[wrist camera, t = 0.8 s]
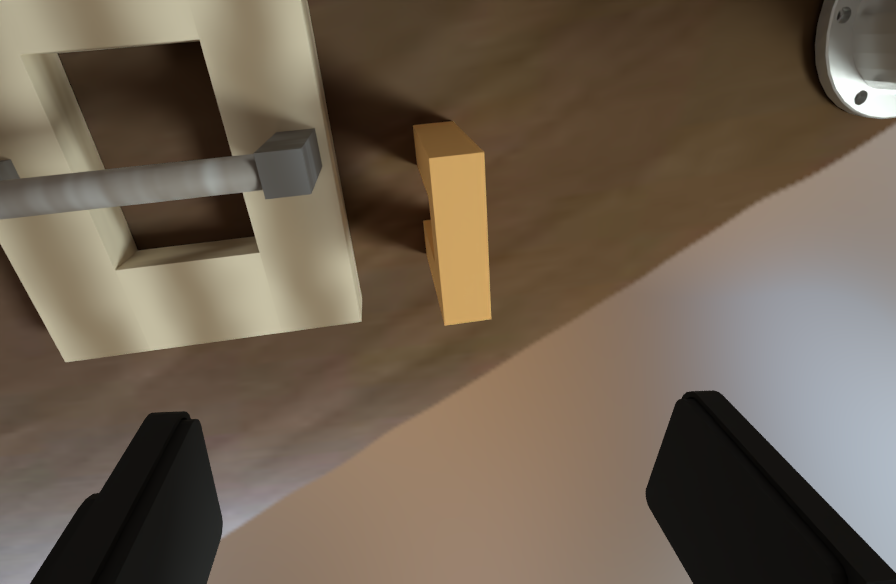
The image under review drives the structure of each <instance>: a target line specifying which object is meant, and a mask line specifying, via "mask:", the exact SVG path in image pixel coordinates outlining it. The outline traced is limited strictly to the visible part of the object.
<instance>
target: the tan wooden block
mask: <svg viewBox="0 0 896 584" xmlns="http://www.w3.org/2000/svg"><path fill="white" fill-rule="evenodd" d="M413 132H414V142H415V151H416V160H417V167H418V169H419V172H420V175H421V178H422V180H423V183H424V186H425V189H426V191H427V194H428V197H429V207H430V217H431V220H424V221H423V226H424V235H425V244H426V254H427V258H428V262H429V266H430V270H431V273H432V277H433V281H434V285H435V289H436V293H437V297H438V301H439V305H440V309H441V313H442V317H443V320H444V324H445V325H452V324H460V323H467V322H474V321H481V320H488V319H491V303H490V279H489V255H488V231H487V208H486V184H485V160H484V152H483V151H482V150H481V149H480V148H479V147H478V146H477V145H476V144H475V143H474V142H473V141H472V140H471V139H470V138H469V137H468V136H467V135H466V134H465V133H464V132H463V131H462V130H461V129H460V128H459V127H458V126H457V125H456V124H455V123H454V122H453V121H448V122H438V123H429V124H419V125H413Z"/></svg>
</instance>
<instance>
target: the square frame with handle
mask: <svg viewBox="0 0 896 584" xmlns="http://www.w3.org/2000/svg"><path fill="white" fill-rule="evenodd" d="M196 41H200V43H201V47H202V51H203V54H204V58H205V61H206V65H207V68H208V72H209V75H210V79H211V82H212V86H213V89H214V93H215V97H216V100H217V104H218V107H219V111H220V114H221V118H222V121H223V125H224V128H225V132H226V135H227V139H228V143H229V146H230V150H231V153H232V156H229V157H219V158H210V159H200V160H191V161H181V162H172V163H162V164H153V165H143V166H134V167H124V168H115V169H104V166H103V164H102V161H101V159H100V156H99V154H98V152H97V149H96V147H95V144H94V142H93V139H92V137H91V134H90V132H89V130H88V127H87V125H86V122H85V120H84V117H83V115H82V112H81V110H80V108H79V105H78V103H77V100H76V98H75V95H74V93H73V90H72V88H71V86H70V83H69V81H68V78H67V76H66V73H65V71H64V69H63V66H62V64H61V61H60V59H59V56H58V54H57V53H67V52H79V51H91V50H103V49H114V48H126V47H138V46H149V45H161V44H173V43H185V42H196ZM242 192H243V196H244V199H245V203H246V206H247V210H248V213H249V217H250V220H251V224H252V227H253V231H254V235H255V236H254V237H245V238H237V239H229V240H220V241H212V242H204V243H195V244H187V245H179V246H170V247H162V248H154V249H145V250H138V249H137V247H136V244H135V242H134V239H133V237H132V235H131V232H130V230H129V227H128V225H127V222H126V220H125V217H124V215H123V213H122V210H121V208H120V206H126V205H135V204H144V203H153V202H162V201H171V200H180V199H189V198H197V197H206V196H215V195H224V194H233V193H242ZM0 244H1V246H2V248H3V250H4V251H5V253H6V255H7V257H8V259H9V260H10V262H11V264H12V266H13V268H14V269H15V271H16V273H17V275H18V277H19V279H20V280H21V282H22V284H23V286H24V288H25V289H26V291H27V293H28V295H29V297H30V299H31V300H32V302H33V304H34V306H35V308H36V309H37V311H38V313H39V315H40V317H41V319H42V320H43V322H44V324H45V326H46V328H47V329H48V331H49V333H50V335H51V337H52V339H53V340H54V342H55V344H56V346H57V348H58V349H59V351H60V353H61V355H62V357H63V359H64V360H65V362H71V361H78V360H86V359H93V358H100V357H108V356H115V355H122V354H129V353H137V352H144V351H151V350H159V349H166V348H173V347H180V346H188V345H195V344H202V343H209V342H217V341H224V340H231V339H239V338H246V337H253V336H260V335H268V334H275V333H282V332H290V331H297V330H304V329H311V328H319V327H326V326H333V325H341V324H348V323H355V322H361V318H362V296H361V290H360V285H359V279H358V274H357V268H356V263H355V258H354V252H353V247H352V241H351V236H350V230H349V225H348V220H347V214H346V209H345V203H344V198H343V192H342V187H341V181H340V176H339V171H338V165H337V160H336V154H335V149H334V143H333V138H332V132H331V127H330V122H329V116H328V111H327V105H326V100H325V94H324V89H323V83H322V78H321V73H320V67H319V62H318V56H317V51H316V45H315V40H314V34H313V29H312V24H311V18H310V13H309V7H308V2H307V0H0Z"/></svg>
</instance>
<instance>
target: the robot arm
mask: <svg viewBox="0 0 896 584" xmlns="http://www.w3.org/2000/svg"><path fill="white" fill-rule="evenodd" d="M815 61H816V68H817V72H818V76H819V80H820V83H821V85H822V87H823V89H824V91H825V93H826V94H827V96H828V97H829V98H830V99H831V100H832V101H833V102H834V103H835V105H836V106H838V107H839V108H841V109H843V110H844V111H846V112H848V113H850V114H854V115H858V116H862V117H869V118H878V119H886V118H895V117H896V0H824V2H823V6H822V9H821V13H820V16H819V20H818V24H817V32H816V40H815ZM646 500H647V503H648V506H649V508H650V510H651V511H652V513H653V515H654V517H655V518H656V520H657V522H658V523H659V525H660V527H661V529H662V530H663V532H664V534H665V536H666V537H667V539H668V541H669V542H670V544H671V546H672V547H673V549H674V551H675V553H676V555H677V556H678V558H679V560H680V561H681V563H682V565H683V567H684V568H685V570H686V572H687V573H688V575H689V577H690V578H691V580H692V582H693V584H896V573H895V572H894V571H893V570H892V569H891V568H890V567H889V566H888V565H887V564H886V563H885V562H884V560H882V558H880V556H879V555H878V554H877V553H876V552H875V551H874V550H873V549H872V548H871V547H870V546H869V545H868V544H867V543H866V542H865V541H864V540H863V539H862V538H861V537H860V536H859V535H858V534H857V533H856V532H855V531H854V530H853V529H852V528H851V527H850V526H849V525H848V524H847V522H846V521H845V520H844V519H843V518H842V517H841V516H840V515H839V514H838V513H837V512H836V511H835V510H834V509H833V508H832V507H831V506H830V505H829V504H828V503H827V502H826V501H825V500H824V499H823V498H822V497H821V496H820V495H819V494H818V493H817V492H816V491H815V490H814V489H813V488H812V486H811V485H810V484H809V483H808V482H807V481H806V480H805V479H804V478H803V477H802V476H801V475H800V474H799V473H798V472H797V471H796V470H795V469H794V468H793V467H792V466H791V465H790V464H789V463H788V462H787V461H786V460H785V459H784V458H783V457H782V456H781V455H780V454H779V453H778V452H777V451H776V450H775V449H774V447H773V446H772V445H770V443H769V442H768V441H766V439H765V438H764V437H763V436H762V435H761V434H760V433H759V432H758V431H757V430H756V429H755V428H754V427H753V426H752V425H751V424H750V423H749V422H748V421H747V420H746V419H745V418H744V417H743V416H742V415H741V414H740V413H739V412H738V411H737V409H735V407H733V405H732V404H731V403H730V402H729V401H728V400H727V399H726V398H725V397H724V396H723V395H722V394H720V393H719V392H717V391H691V392H686V393H685V394H684V395H683V397H682V399H679V400H678V401H677V402H676V404H675V407H674V410H673V412H672V415H671V418H670V421H669V424H668V427H667V430H666V433H665V436H664V439H663V441H662V445H661V447H660V450H659V453H658V456H657V459H656V462H655V464H654V467H653V470H652V473H651V476H650V480H649V482H648V485H647V488H646ZM222 526H223V521H222V515H221V510H220V506H219V502H218V497H217V493H216V489H215V484H214V480H213V475H212V471H211V467H210V462H209V458H208V454H207V449H206V445H205V440H204V436H203V432H202V427H201V424H200V421H199V420H198V419H191V418H190V416H189V414H188V413H187V412H184V411H183V412H158V413H151V414H149V415H148V416H147V417H146V418H145V420H144V422H143V423H142V425H141V426H140V428H139V430H138V431H137V433H136V435H135V436H134V438H133V439H132V441H131V443H130V444H129V446H128V448H127V449H126V451H125V452H124V454H123V456H122V457H121V459H120V461H119V462H118V464H117V465H116V467H115V469H114V470H113V472H112V474H111V475H110V477H109V478H108V480H107V482H106V483H105V485H104V487H103V488H102V490H101V491H100V493H97V494H92V495H91V496H89V497H88V498H87V499H85V501H84V502H83V503H82V504H81V506H80V507H79V508H78V510H77V511H76V513H75V514H74V516H73V518H72V519H71V521H70V522H69V524H68V525H67V527H66V528H65V530H64V532H63V533H62V535H61V536H60V538H59V539H58V541H57V543H56V544H55V546H54V547H53V549H52V550H51V552H50V553H49V555H48V557H47V558H46V560H45V561H44V563H43V564H42V566H41V567H40V569H39V571H38V572H37V574H36V575H35V577H34V578H33V580H32V582H31V583H30V584H207V581H208V577H209V574H210V571H211V568H212V565H213V562H214V558H215V555H216V552H217V549H218V546H219V543H220V539H221V535H222Z"/></svg>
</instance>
